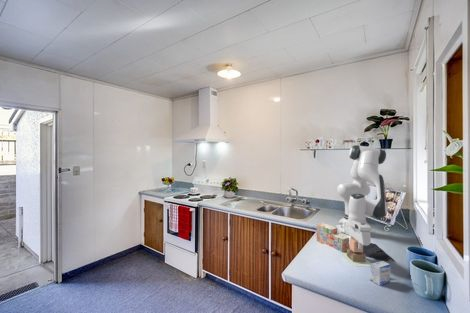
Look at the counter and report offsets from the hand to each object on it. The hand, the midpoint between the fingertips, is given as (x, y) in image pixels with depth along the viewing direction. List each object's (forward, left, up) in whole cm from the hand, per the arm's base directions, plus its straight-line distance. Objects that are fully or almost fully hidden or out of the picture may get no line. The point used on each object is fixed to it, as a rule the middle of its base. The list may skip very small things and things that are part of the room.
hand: (356, 246), depth 126 cm
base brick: (0, 0, -7) cm, 7 cm away
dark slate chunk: (-9, +16, -9) cm, 20 cm away
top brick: (0, 0, -2) cm, 2 cm away
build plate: (0, 0, -8) cm, 8 cm away
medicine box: (+20, +1, -8) cm, 22 cm away
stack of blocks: (-19, -6, -9) cm, 22 cm away
